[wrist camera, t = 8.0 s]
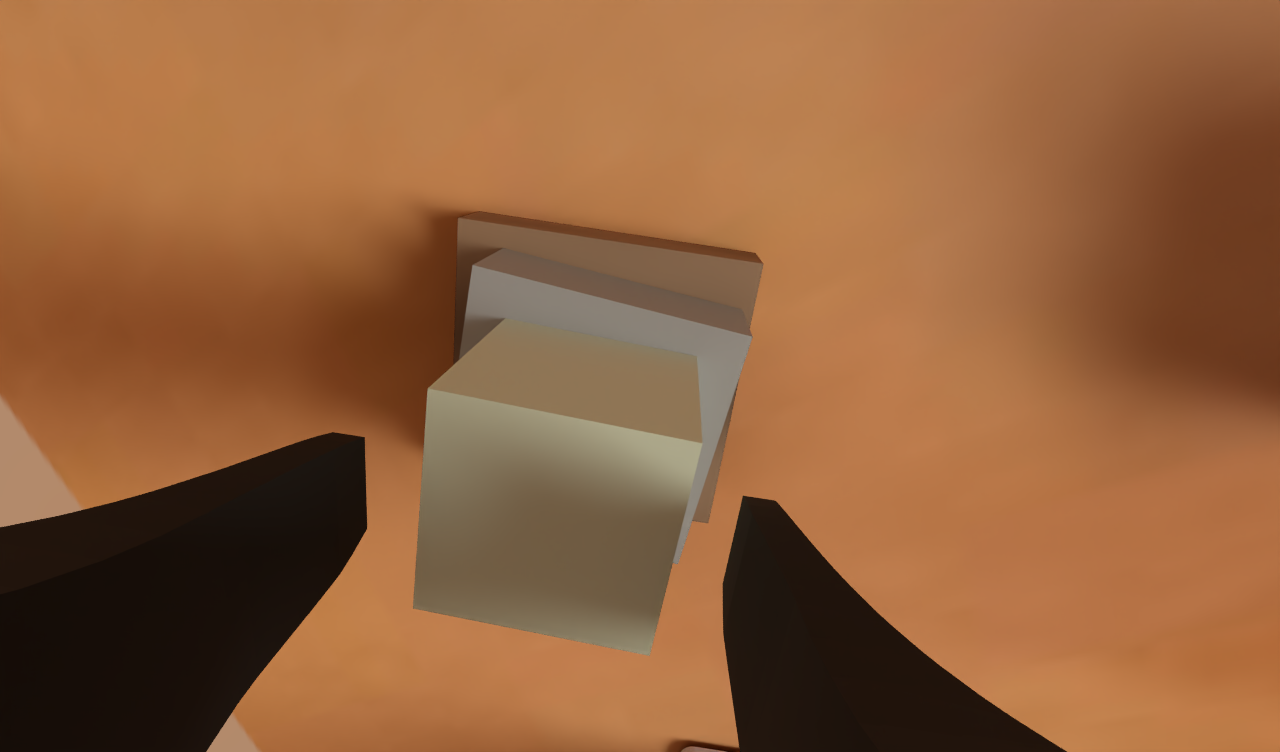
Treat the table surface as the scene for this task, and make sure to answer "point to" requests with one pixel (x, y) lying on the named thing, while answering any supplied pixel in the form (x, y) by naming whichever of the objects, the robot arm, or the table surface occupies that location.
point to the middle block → (617, 328)
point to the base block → (620, 256)
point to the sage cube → (557, 484)
